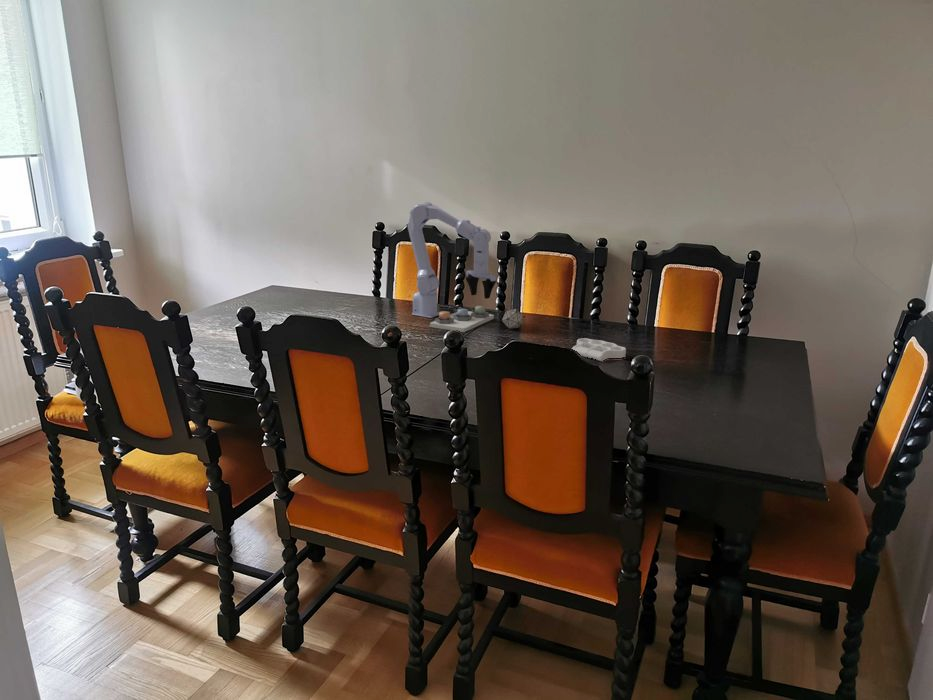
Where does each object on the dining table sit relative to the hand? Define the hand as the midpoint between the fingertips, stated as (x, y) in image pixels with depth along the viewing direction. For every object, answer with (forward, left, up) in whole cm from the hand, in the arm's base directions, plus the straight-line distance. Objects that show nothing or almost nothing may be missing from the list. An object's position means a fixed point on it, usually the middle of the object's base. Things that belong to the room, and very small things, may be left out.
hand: (480, 296), depth 271 cm
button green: (0, 0, -6) cm, 6 cm away
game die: (+17, -5, -10) cm, 20 cm away
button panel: (-4, -7, -9) cm, 13 cm away
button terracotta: (-7, -15, -6) cm, 18 cm away
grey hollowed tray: (+55, -18, -10) cm, 59 cm away
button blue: (-4, -7, -6) cm, 11 cm away
